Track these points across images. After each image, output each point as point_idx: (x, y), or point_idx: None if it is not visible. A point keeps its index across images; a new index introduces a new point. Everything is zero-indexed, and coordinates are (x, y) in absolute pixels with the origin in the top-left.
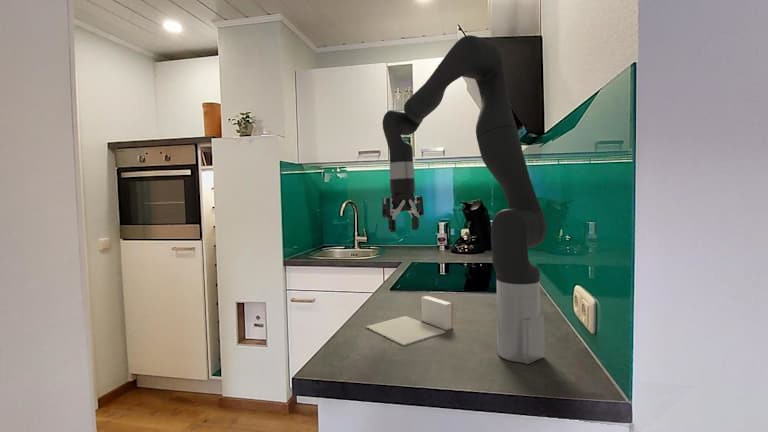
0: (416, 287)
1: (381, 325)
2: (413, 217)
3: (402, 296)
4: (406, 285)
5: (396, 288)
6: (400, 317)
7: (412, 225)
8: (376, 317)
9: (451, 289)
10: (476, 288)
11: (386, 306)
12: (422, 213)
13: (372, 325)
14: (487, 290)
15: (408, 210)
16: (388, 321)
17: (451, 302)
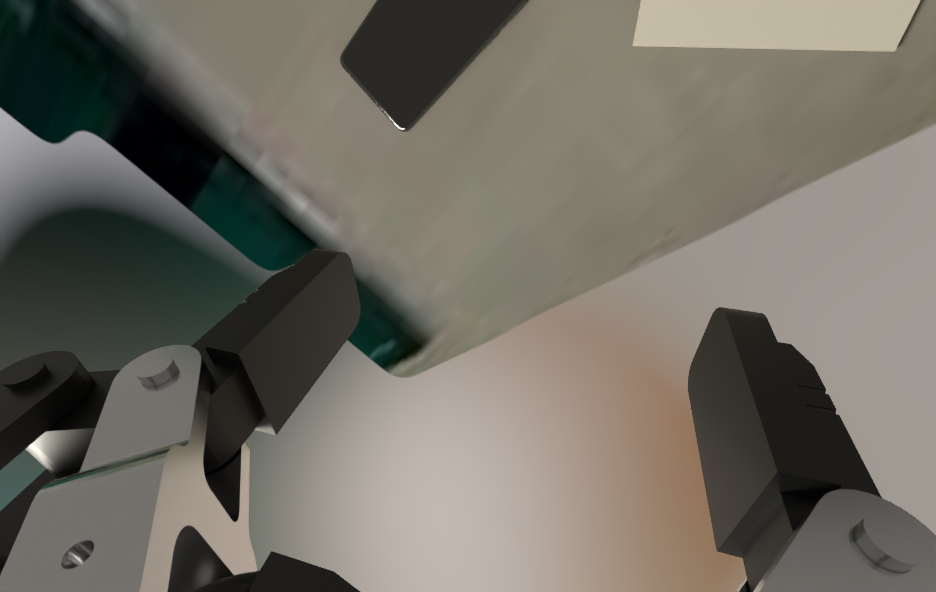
0: None
1: (839, 2)
2: (249, 413)
3: (441, 267)
4: (355, 339)
5: (400, 340)
6: (666, 43)
7: (333, 341)
8: (716, 142)
9: (253, 202)
10: (168, 143)
11: (570, 223)
12: (30, 370)
13: (864, 37)
14: (140, 91)
15: (296, 571)
16: (757, 32)
17: (348, 53)
